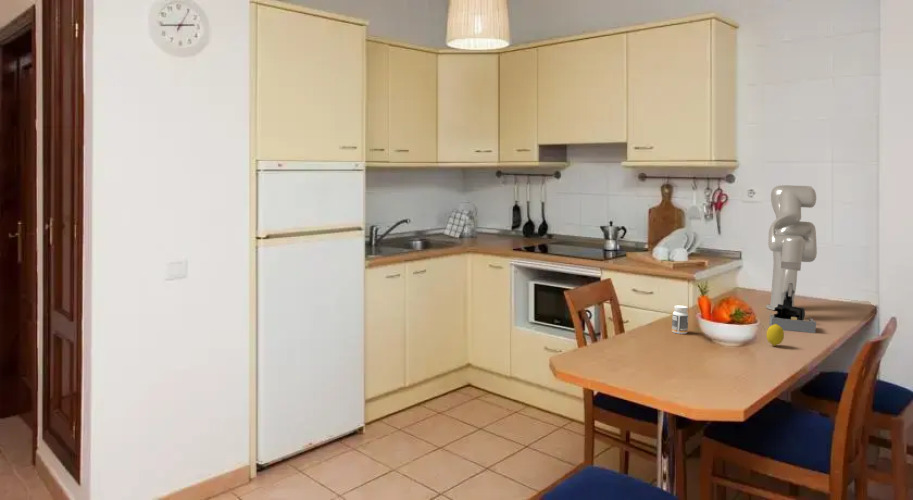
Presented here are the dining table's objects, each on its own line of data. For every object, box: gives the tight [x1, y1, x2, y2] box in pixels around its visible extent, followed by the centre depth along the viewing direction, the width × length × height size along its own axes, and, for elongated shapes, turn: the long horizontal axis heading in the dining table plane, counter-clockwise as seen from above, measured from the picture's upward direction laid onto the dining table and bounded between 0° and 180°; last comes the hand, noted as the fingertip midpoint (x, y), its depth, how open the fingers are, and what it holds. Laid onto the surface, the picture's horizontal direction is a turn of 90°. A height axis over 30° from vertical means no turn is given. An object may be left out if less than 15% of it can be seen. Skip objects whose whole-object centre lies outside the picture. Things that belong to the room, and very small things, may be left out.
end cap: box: [773, 304, 806, 321], centre depth 280 cm, size 10×7×7 cm
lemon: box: [765, 324, 785, 347], centre depth 239 cm, size 6×6×8 cm
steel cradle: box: [769, 314, 817, 334], centre depth 269 cm, size 10×15×5 cm, turn 70°
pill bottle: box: [671, 304, 689, 335], centre depth 256 cm, size 6×6×10 cm
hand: (787, 309), depth 287 cm, fingers closed
